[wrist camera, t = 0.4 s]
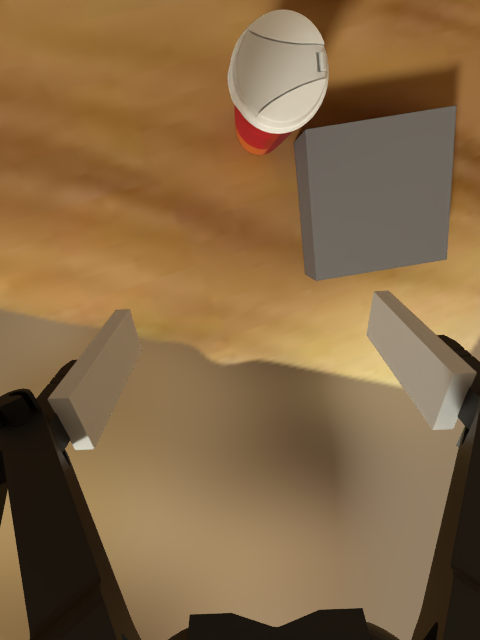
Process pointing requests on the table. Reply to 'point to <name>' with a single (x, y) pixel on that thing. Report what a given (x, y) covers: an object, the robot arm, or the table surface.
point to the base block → (375, 192)
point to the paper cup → (276, 78)
